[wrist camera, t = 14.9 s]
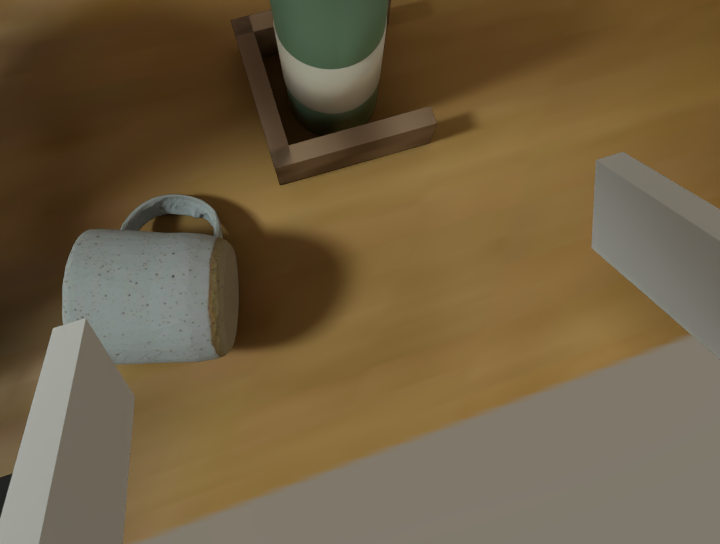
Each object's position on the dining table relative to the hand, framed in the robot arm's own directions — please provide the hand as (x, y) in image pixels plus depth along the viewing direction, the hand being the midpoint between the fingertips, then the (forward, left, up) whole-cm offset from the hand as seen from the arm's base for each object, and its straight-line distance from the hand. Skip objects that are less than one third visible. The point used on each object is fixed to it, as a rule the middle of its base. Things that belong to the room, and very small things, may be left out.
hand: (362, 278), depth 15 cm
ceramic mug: (-12, +1, -22) cm, 25 cm away
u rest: (-5, +16, -22) cm, 28 cm away
